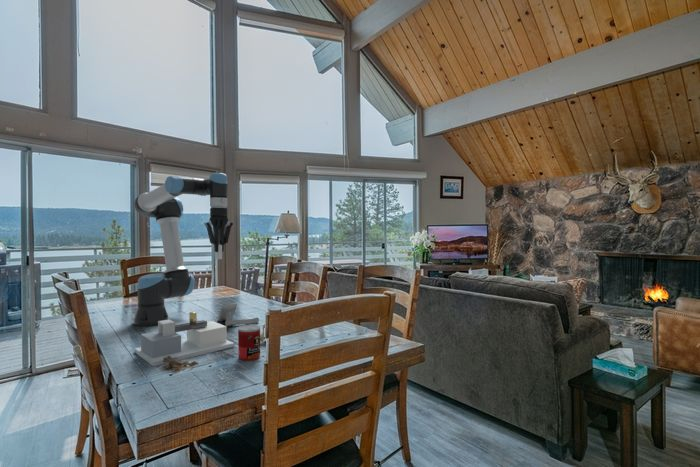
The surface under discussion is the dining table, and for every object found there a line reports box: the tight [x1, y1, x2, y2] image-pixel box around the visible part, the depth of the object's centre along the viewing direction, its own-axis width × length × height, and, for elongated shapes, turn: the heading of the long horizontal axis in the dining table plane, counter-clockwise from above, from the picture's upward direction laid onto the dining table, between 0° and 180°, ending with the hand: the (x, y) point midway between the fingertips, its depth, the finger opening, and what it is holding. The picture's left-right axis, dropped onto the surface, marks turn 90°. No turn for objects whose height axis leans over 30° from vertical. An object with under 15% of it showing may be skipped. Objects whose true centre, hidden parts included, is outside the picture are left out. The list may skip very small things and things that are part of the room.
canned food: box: [237, 324, 261, 362], centre depth 143 cm, size 8×8×11 cm
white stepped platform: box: [134, 319, 235, 367], centre depth 152 cm, size 20×30×12 cm, turn 135°
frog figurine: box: [161, 356, 199, 373], centre depth 133 cm, size 12×12×4 cm
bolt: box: [175, 311, 208, 333], centre depth 153 cm, size 3×12×6 cm, turn 135°
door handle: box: [217, 303, 260, 328], centre depth 191 cm, size 18×8×20 cm
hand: (219, 258), depth 180 cm, fingers closed
